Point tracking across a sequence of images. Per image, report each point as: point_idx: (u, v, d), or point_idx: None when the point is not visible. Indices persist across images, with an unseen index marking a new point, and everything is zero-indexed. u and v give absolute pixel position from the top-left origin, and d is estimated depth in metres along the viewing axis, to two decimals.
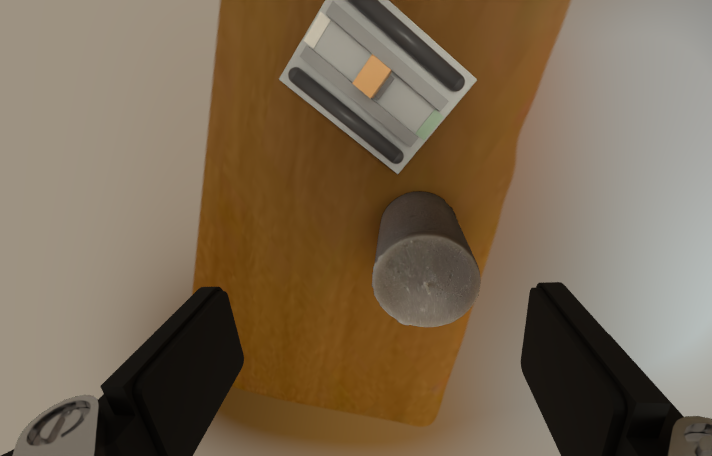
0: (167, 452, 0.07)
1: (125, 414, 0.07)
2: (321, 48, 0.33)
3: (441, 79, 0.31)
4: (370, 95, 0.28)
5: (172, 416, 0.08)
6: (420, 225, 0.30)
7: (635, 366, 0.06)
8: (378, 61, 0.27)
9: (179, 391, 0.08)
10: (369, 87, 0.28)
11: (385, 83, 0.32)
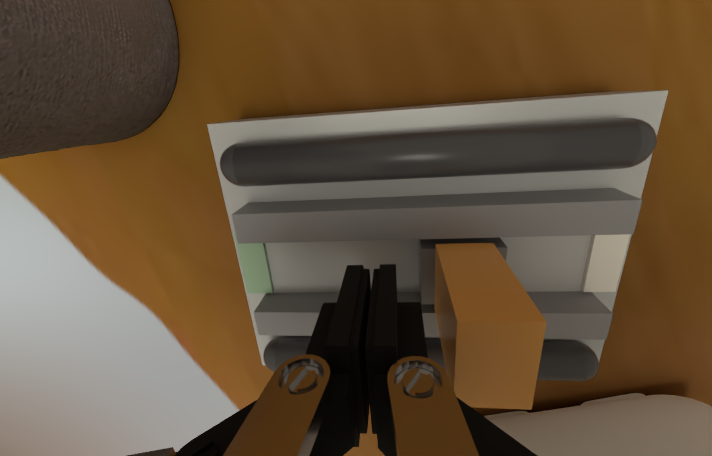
0: (364, 411, 0.08)
1: (341, 372, 0.07)
2: None
3: (304, 349, 0.15)
4: (463, 328, 0.08)
5: (363, 378, 0.08)
6: None
7: (395, 322, 0.08)
8: (501, 404, 0.09)
9: (364, 356, 0.08)
10: (481, 343, 0.08)
11: (431, 285, 0.12)
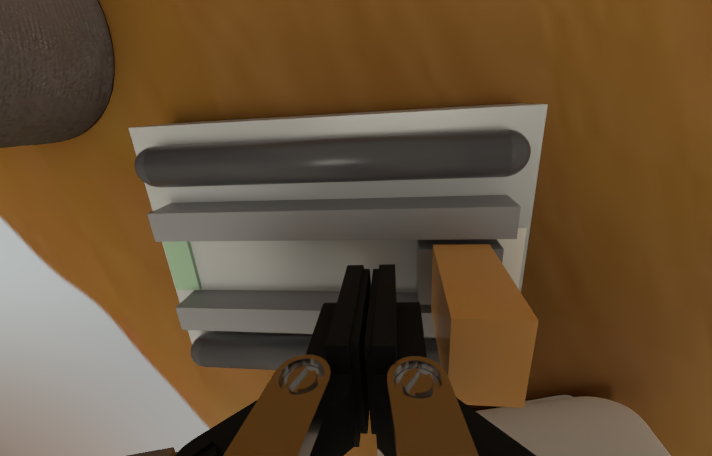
0: (364, 411, 0.08)
1: (341, 372, 0.07)
2: None
3: (227, 344, 0.15)
4: (457, 325, 0.08)
5: (364, 378, 0.08)
6: None
7: (394, 323, 0.08)
8: (494, 402, 0.09)
9: (364, 356, 0.08)
10: (475, 341, 0.08)
11: (428, 285, 0.13)
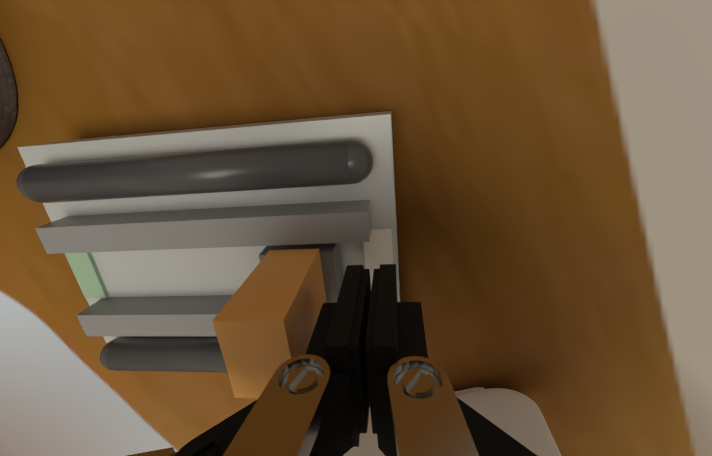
0: (364, 411, 0.08)
1: (341, 372, 0.07)
2: None
3: (132, 348, 0.16)
4: (219, 326, 0.09)
5: (363, 378, 0.08)
6: None
7: (395, 322, 0.08)
8: None
9: (364, 356, 0.08)
10: (238, 340, 0.09)
11: None
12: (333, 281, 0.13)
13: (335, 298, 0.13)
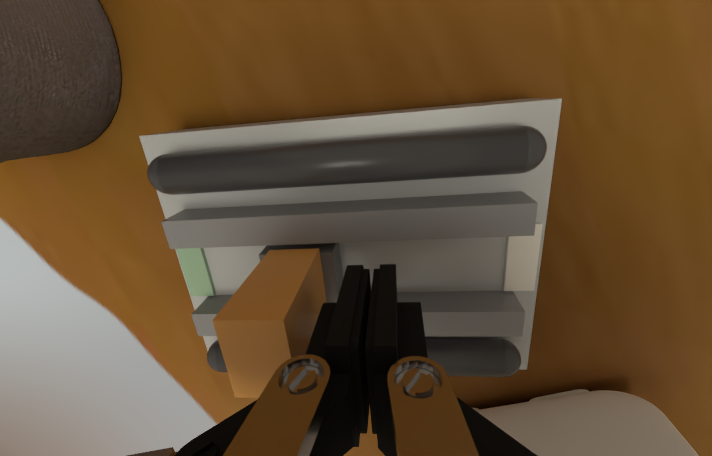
0: (364, 411, 0.08)
1: (341, 372, 0.07)
2: None
3: None
4: (219, 326, 0.09)
5: (363, 378, 0.08)
6: None
7: (395, 322, 0.08)
8: None
9: (364, 356, 0.08)
10: (238, 340, 0.09)
11: None
12: (333, 281, 0.13)
13: (335, 298, 0.13)
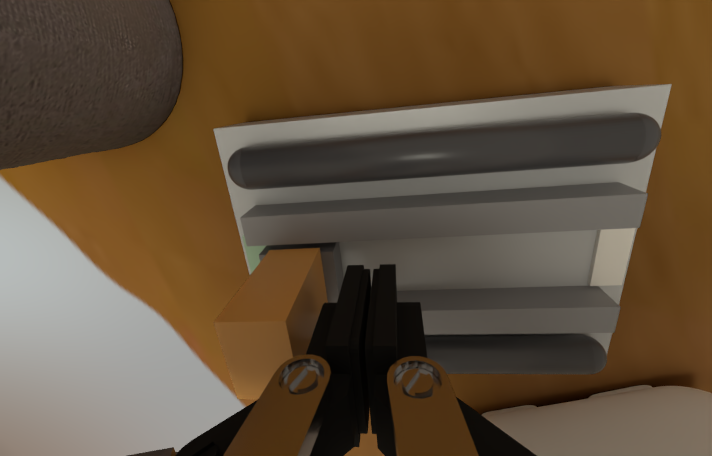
0: (364, 411, 0.08)
1: (341, 372, 0.07)
2: None
3: None
4: (220, 328, 0.09)
5: (364, 378, 0.08)
6: None
7: (395, 323, 0.08)
8: None
9: (364, 356, 0.08)
10: (240, 341, 0.09)
11: None
12: (333, 280, 0.13)
13: (336, 297, 0.13)
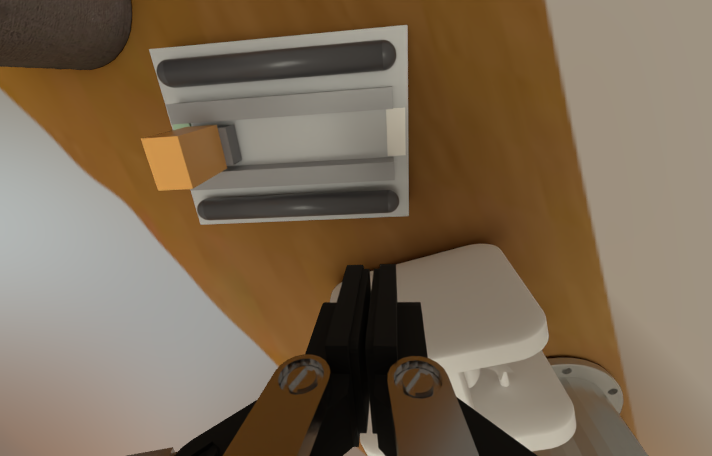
0: (364, 411, 0.08)
1: (341, 372, 0.07)
2: (376, 117, 0.21)
3: (222, 201, 0.23)
4: (144, 142, 0.17)
5: (363, 378, 0.08)
6: None
7: (395, 322, 0.08)
8: (178, 187, 0.18)
9: (364, 356, 0.08)
10: (155, 150, 0.17)
11: None
12: (228, 148, 0.21)
13: (230, 160, 0.22)
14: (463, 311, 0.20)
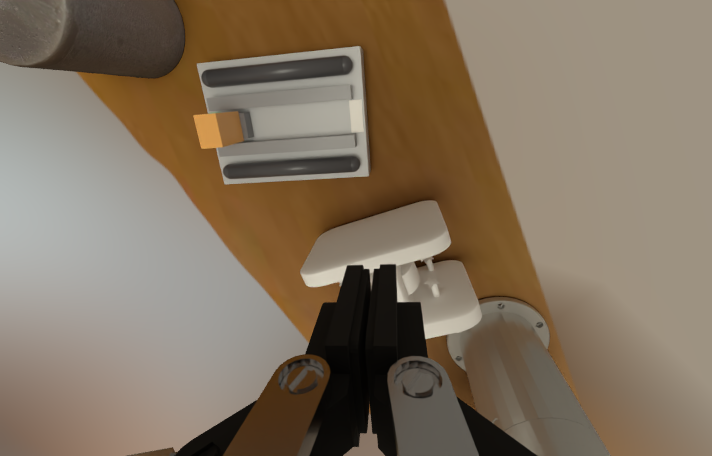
0: (364, 411, 0.08)
1: (341, 372, 0.07)
2: (343, 106, 0.32)
3: (240, 165, 0.34)
4: (195, 117, 0.28)
5: (363, 378, 0.08)
6: (90, 44, 0.24)
7: (395, 322, 0.08)
8: (214, 146, 0.29)
9: (364, 356, 0.08)
10: (201, 122, 0.28)
11: None
12: (244, 126, 0.32)
13: (246, 135, 0.32)
14: (398, 233, 0.30)
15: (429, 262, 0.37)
